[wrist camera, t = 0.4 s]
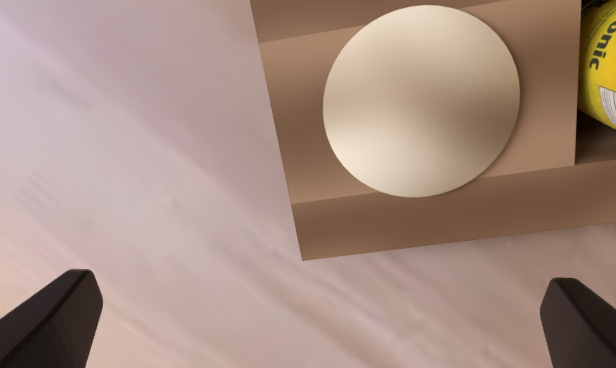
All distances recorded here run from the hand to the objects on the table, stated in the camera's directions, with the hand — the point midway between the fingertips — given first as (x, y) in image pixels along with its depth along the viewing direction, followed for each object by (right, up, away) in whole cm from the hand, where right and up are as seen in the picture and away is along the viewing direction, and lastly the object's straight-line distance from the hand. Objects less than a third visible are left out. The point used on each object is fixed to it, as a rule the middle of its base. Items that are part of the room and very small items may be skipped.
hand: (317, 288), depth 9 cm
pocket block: (+9, +7, +12) cm, 16 cm away
